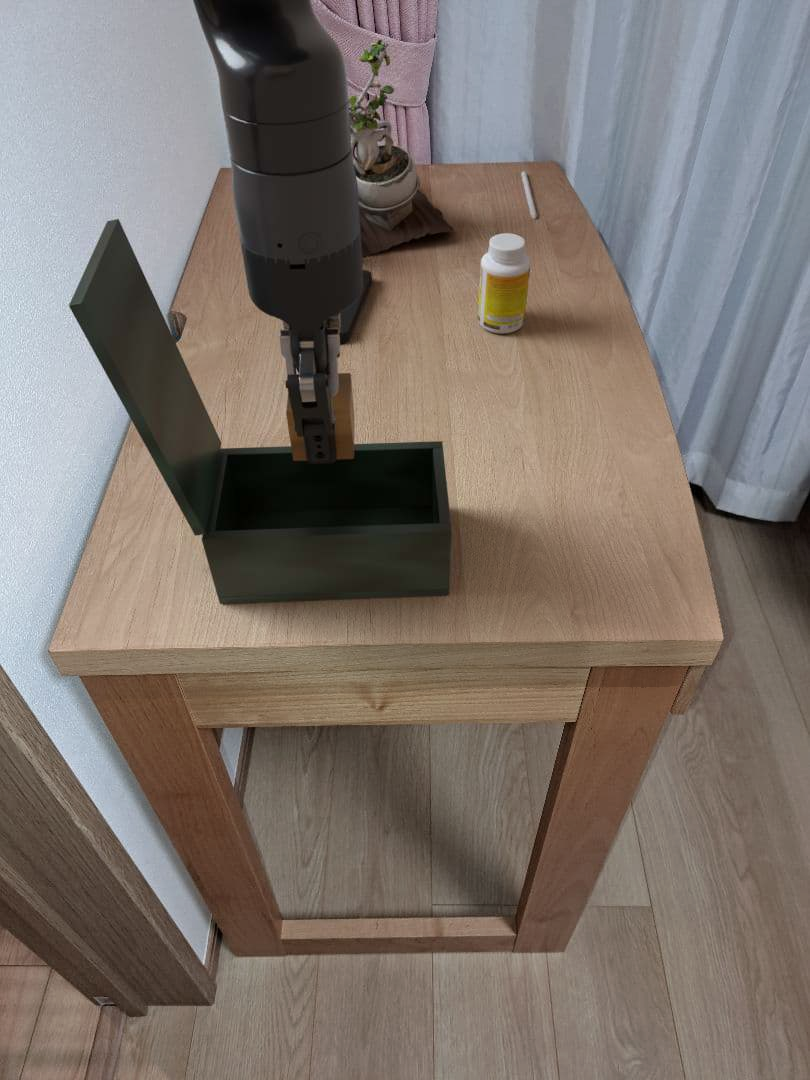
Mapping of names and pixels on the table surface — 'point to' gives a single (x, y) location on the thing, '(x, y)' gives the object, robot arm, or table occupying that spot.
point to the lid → (148, 372)
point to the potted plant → (386, 175)
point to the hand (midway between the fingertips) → (323, 437)
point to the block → (342, 423)
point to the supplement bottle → (503, 284)
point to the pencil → (528, 195)
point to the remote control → (354, 310)
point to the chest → (330, 524)
